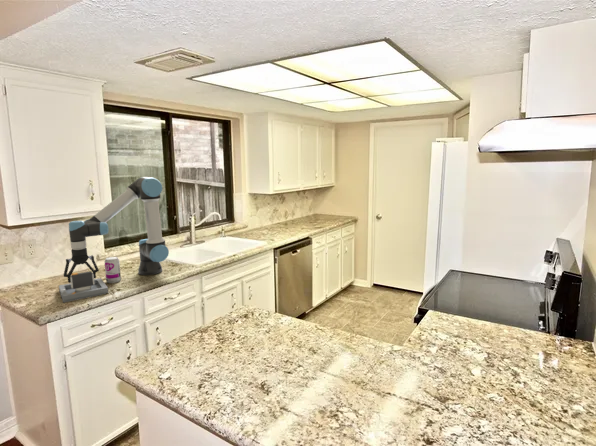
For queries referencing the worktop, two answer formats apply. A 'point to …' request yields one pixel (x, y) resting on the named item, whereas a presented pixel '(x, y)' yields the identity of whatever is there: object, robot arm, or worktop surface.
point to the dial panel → (71, 295)
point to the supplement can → (112, 269)
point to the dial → (82, 281)
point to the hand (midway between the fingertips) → (82, 285)
